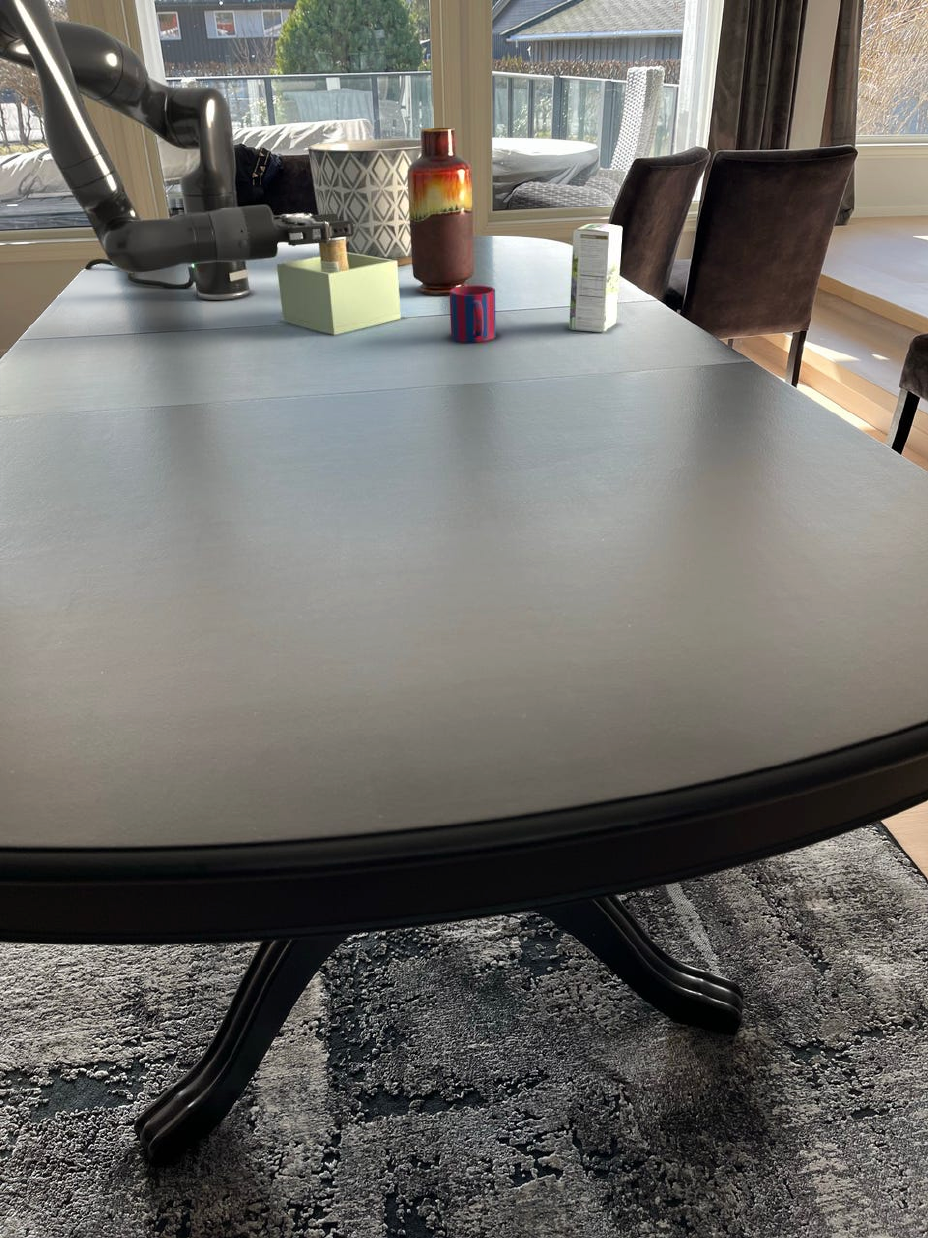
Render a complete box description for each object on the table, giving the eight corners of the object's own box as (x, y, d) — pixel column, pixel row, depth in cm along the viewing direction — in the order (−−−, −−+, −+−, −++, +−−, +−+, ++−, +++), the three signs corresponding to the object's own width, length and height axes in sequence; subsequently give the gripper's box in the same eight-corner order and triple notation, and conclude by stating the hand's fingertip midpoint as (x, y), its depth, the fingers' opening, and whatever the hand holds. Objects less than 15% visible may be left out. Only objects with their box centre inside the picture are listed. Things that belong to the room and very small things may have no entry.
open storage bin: (283, 321, 154) (276, 263, 149) (349, 306, 162) (344, 251, 157) (334, 335, 145) (328, 274, 141) (400, 318, 153) (397, 260, 149)
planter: (391, 245, 214) (384, 137, 203) (469, 258, 197) (466, 141, 186) (295, 262, 199) (282, 146, 188) (370, 278, 182) (361, 152, 171)
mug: (494, 330, 145) (493, 284, 141) (498, 347, 136) (497, 299, 133) (450, 332, 145) (449, 286, 141) (451, 349, 136) (450, 300, 133)
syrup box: (581, 321, 148) (584, 222, 141) (617, 324, 146) (622, 223, 138) (568, 330, 144) (571, 228, 136) (605, 333, 141) (610, 229, 134)
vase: (403, 295, 168) (393, 131, 155) (428, 282, 177) (421, 126, 164) (460, 298, 165) (455, 130, 151) (483, 285, 174) (480, 125, 160)
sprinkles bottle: (359, 312, 153) (350, 224, 146) (337, 318, 150) (326, 228, 143) (343, 308, 156) (333, 221, 149) (320, 314, 153) (309, 225, 146)
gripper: (247, 212, 134) (356, 203, 139) (228, 201, 146) (330, 192, 151) (254, 268, 138) (360, 256, 143) (236, 252, 149) (335, 242, 154)
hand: (345, 224), depth 147 cm, fingers open, 8 cm apart
